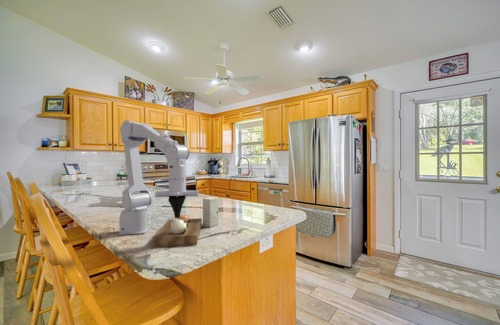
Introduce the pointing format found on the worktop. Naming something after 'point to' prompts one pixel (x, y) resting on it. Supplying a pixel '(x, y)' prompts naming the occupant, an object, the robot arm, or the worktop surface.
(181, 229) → the white rounded cylinder
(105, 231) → the worktop surface
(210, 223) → the skincare box
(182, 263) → the worktop surface
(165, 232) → the board
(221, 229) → the worktop surface
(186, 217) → the rust plug
